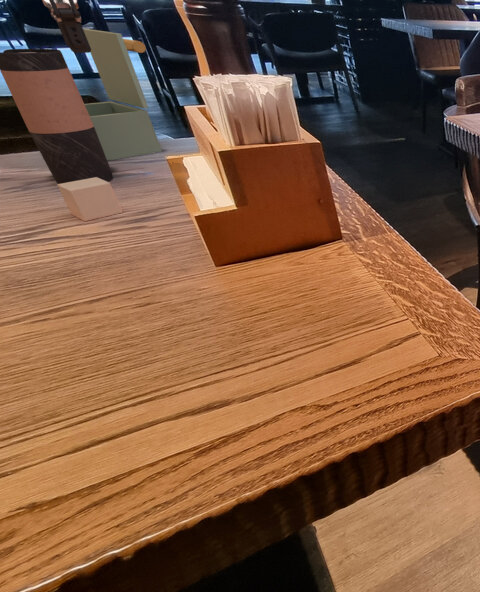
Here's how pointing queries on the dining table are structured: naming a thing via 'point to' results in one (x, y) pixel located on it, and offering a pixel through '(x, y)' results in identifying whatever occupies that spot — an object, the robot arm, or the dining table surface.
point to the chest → (123, 130)
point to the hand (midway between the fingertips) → (79, 50)
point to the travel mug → (54, 114)
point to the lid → (117, 66)
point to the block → (90, 198)
